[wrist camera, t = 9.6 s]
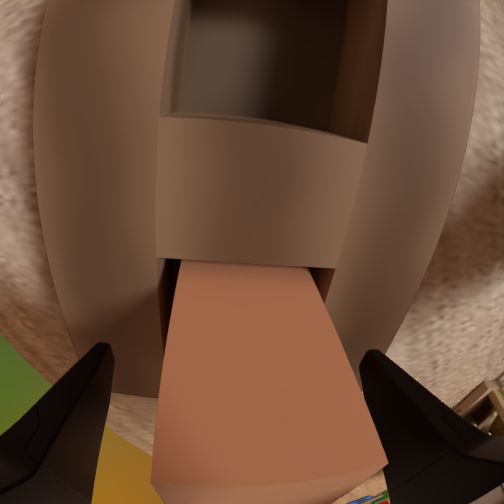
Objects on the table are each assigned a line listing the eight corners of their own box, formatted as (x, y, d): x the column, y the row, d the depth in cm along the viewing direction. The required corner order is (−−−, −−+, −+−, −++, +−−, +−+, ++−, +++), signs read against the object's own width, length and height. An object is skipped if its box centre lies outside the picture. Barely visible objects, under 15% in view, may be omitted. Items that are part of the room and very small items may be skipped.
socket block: (423, 1, 8) (479, -12, 5) (339, 343, 18) (360, 394, 14) (113, -49, 6) (79, -86, 3) (108, 334, 16) (91, 388, 12)
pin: (293, 236, 13) (388, 463, 4) (275, 315, 15) (319, 510, 6) (188, 228, 12) (150, 482, 4) (186, 311, 14) (173, 517, 6)
